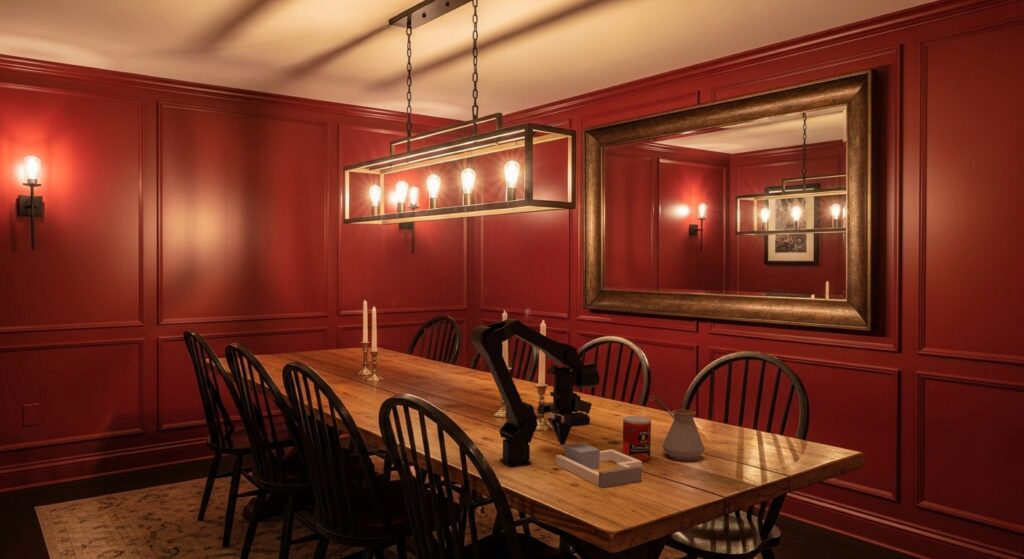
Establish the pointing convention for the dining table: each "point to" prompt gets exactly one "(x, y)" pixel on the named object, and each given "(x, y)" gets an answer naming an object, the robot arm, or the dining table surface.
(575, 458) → the slate block
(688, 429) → the coffee pot
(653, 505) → the dining table surface
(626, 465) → the white tray
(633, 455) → the canned food
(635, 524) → the dining table surface
